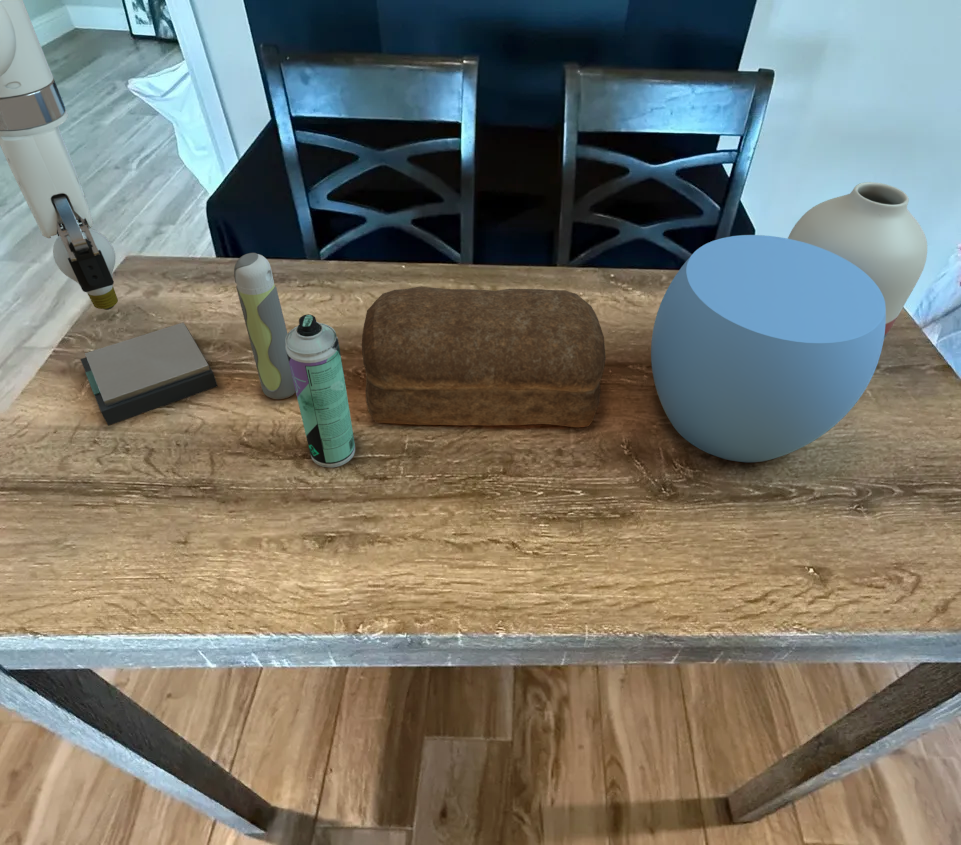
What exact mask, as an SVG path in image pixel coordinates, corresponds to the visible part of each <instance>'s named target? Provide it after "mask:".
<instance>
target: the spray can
mask: <svg viewBox="0 0 961 845" xmlns="http://www.w3.org/2000/svg"><path fill="white" fill-rule="evenodd" d="M285 343H286V352H287V356H288V360H289V365H290V369H291V373H292V378H293V382H294V386H295V391H296V393H295V395H296V397H297V398H296V399H297V404H298V407H299V411H300V416H301V420H302V424H303V430H304V434H305V439H306V442H307V446H308V450H309V455H310V457H311V460H312V461H313V463H315V464H316V465H318V466H320V467H323V468H330V469H331V468H338V467H341V466H343V465H345V464H347V463H348V462H349V461H351V460H352V459H353V457H354V456H355V454H356V442H355V437H354V430H353V424H352V418H351V411H350V406H349V405H350V404H349V400H348V392H347V387H346V381H345V380H346V379H345V374H344V368H343V362H342V355H341V349H340V344H339V343H340V342H339V339H338V336H337V332H336V330H335V329H334V328H333V327H332V326H330V325H328V324H326V323H321V322H319V321H317V319H316V317H315V315H313V314H303V315H301V316H300V317H299V318H298V325H297V326H295V327H293V328H292V329H291V330H290V331H289V332H287V336H286V338H285Z"/></svg>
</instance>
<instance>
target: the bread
mask: <svg viewBox="0 0 961 845" xmlns="http://www.w3.org/2000/svg"><path fill="white" fill-rule="evenodd" d="M361 354H362V363H363V367H364V371H365V376H366V377H365V380H366V381H365V403H366V407H367V411H368V413H369V415H370V416H371V417H372V418H371V419H373V420H374V422H375V423H379V424H381V423H382V424H396V425H417V426H419V425H421V426H422V425H424V426H426V425H428V426H429V425H432V426H434V425H435V426H436V425H437V426H439V425H441V426H443V425H444V426H445V425H447V426H487V427H488V426H489V427H490V426H524V425H525V426H527V425H554V426H563V427H569V428H586V427H590V425H591V423H592V422H593V421H594V418H595V416H596V413H597V411H598V408H599V406H600V401H601V379H602V377H603V373H604V369H605V365H606V349H605V337H604V333H603V330H602V327H601V324H600V321H599V318H598V316H597V314H596V312H595V309H594V308H593V306H592V305H590V304H589V302H587V301H586V300H584V298H583V297H581V296H580V295H579V294H577V293H575V292H572V291H569V290H565V289H564V290H563V289H545V288H544V289H542V288H506V289H498V290H491V289H476V288H475V289H471V288H442V287H440V288H439V287H430V286H421V285H420V286H415V287H410V288H400V289H399V288H398V289H393V290H390V291H387V292H383V293H381V294H380V296H379V297H377V298H376V300H374V301H373V303H372V304H371V305H370V307H368V309H367V310H366V313H365V318H364V324H363V329H362V335H361Z"/></svg>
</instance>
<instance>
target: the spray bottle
mask: <svg viewBox="0 0 961 845" xmlns="http://www.w3.org/2000/svg"><path fill="white" fill-rule="evenodd" d="M233 278H234V283H235V284H236V287H235V288H236V293H237V296H238V299H239V303H240V308H241V311H242V315H243V320H244V324H245V327H246V331H247V335H248V339H249V343H250V346H251V351H252V354H253V358H254V364H255V367H256V370H257V375H258V378H259V382H260V386H261V390H262V392H263V394H264V395H265V396H266V397H268V398H270V399H273V400H283V399H288V398H290V397H292V396H293V395H296V391H295V386H294V382H293V378H292V373H291V369H290V365H289V360H288V356H287V352H286V343H285V338H286V336H287V334H288V330H287V325H286V322H285V317H284V313H283V310H282V305H281V301H280V297H279V293H278V288H277V286H276V285H275V280H274V274H273V271H272V267H271V264H270V261H269V260H268V259H267V257H265V256H263V255H262V254H260V253H256V252H249V253H245V254H243V255H242V256H240V257H239V258H238V259H237V260H236V262H235V265H234V268H233Z"/></svg>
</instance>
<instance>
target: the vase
mask: <svg viewBox="0 0 961 845" xmlns="http://www.w3.org/2000/svg"><path fill="white" fill-rule="evenodd" d="M909 201H910V199H909V196H908V195H907V194H906V193H905V192H904V191H903V190H902V189H899V188H898V187H895V186H893V185H890V184H887V183H882V182H874V181H873V182H872V181H867V182H865V181H864V182H861V183H858V184H856V185H855V186H854V187H853V189H852V190H851V191H850V193H847V194H843V195H840V196H836V197H832V198H830V199H826V200H824V201H822V202H820V203H818V204H816V205H814V206H812V207H810V209H808V210H807V211H806V212H805V213H803V215H802V216H801V217H800V218H799V219H798V221H797V222H796V223H795V224H794V226H793V227H792V229H791V231H790V232H789V235H788V236H787V239H792V240H796V241H800V242H804V243H808V244H811V245H814V246H817V247H820V248H822V249H825V250H827V251H830V252H832V253H834V254H836V255H838V256H840V257H842V258H844V259H846V260H847V261H849V262H851V263H852V264H854V265H855V266H857V267H858V268H860V269H861V270H862V271H863V272H865V273H866V274H867V275H868V276H869V277H870V278H871V279H872V280H873V281H874V282H875V283H876V285H877V286H878V288H879V289H880V291H881V293H882V295H883V297H884V300H885V307H886V323H885V334H884V340H885V339H886V337H887V336H888V334H889V332H890V331H891V329H892V328H893V325H894V324H895V322H896V320H897V319H898V317H899V315H900V313H901V312H902V310H903V309H904V306H906V303H907V301H908V300H909V298H910V296H911V295H912V293H913V291H914V289H915V287H916V285H917V284H918V281H919V280H920V278H921V275H922V273H923V271H924V269H925V266H926V262H927V258H928V257H927V256H928V241H927V237H926V234H925V232H924V230H923V228H922V226H921V225H920V222H918V220H917V219H916V218H915V217H914V215H913V214H912V213H911V212H910V211H909V209H908V205H909Z"/></svg>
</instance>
